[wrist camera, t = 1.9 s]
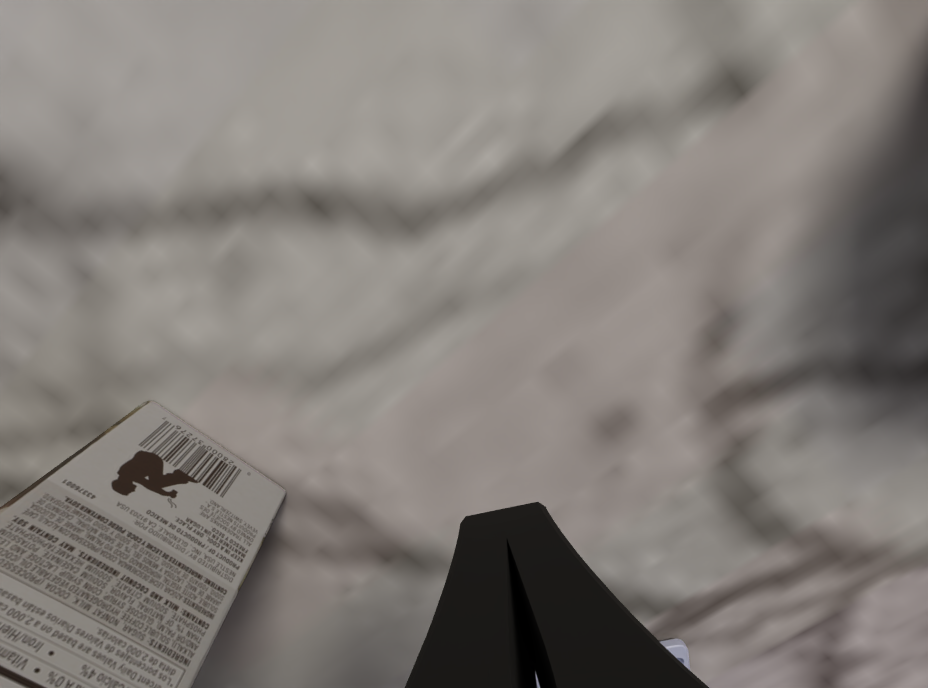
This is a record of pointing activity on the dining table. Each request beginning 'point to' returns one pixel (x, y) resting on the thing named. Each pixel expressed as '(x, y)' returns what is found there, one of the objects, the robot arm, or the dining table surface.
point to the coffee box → (128, 557)
